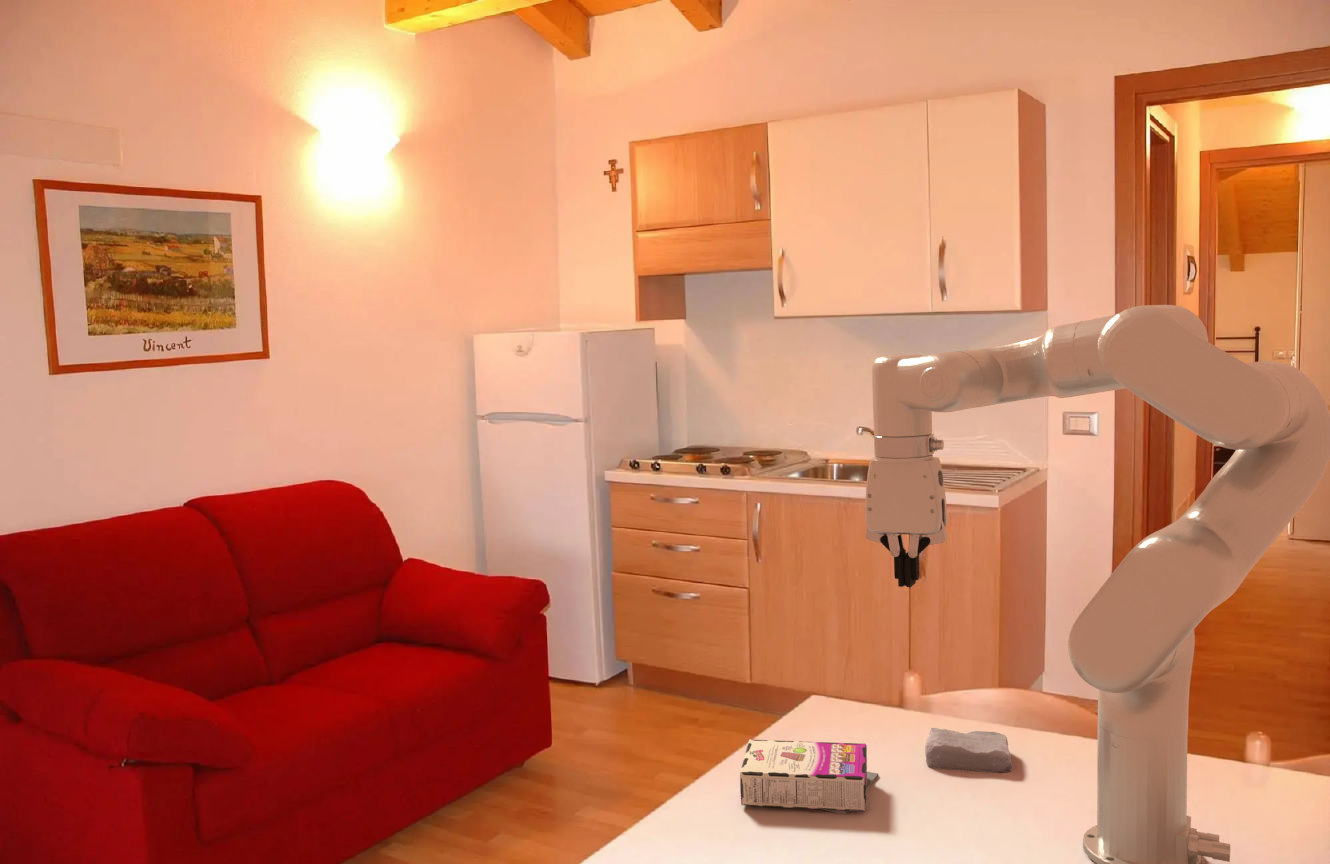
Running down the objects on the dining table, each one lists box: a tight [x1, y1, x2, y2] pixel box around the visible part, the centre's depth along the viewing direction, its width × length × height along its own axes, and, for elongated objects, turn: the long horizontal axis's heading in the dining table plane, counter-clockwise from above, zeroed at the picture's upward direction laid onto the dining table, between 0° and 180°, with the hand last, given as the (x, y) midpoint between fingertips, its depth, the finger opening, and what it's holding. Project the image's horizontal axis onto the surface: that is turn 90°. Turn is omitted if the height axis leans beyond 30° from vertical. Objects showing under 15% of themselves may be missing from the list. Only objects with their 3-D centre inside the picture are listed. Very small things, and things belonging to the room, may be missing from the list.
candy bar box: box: [739, 738, 868, 812], centre depth 145 cm, size 11×5×16 cm
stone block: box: [924, 727, 1013, 774], centre depth 155 cm, size 12×5×10 cm
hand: (907, 584), depth 144 cm, fingers closed
